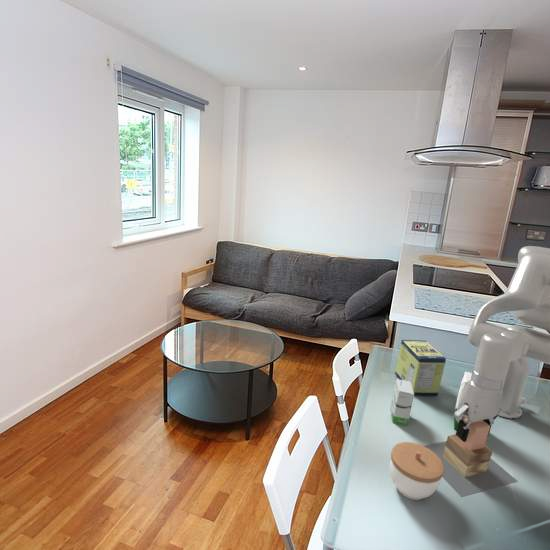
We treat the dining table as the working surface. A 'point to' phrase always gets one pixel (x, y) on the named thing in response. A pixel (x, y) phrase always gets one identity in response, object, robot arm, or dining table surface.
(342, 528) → the dining table surface
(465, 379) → the milk carton
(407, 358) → the protein box
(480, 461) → the walnut slab
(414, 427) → the dining table surface
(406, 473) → the lidded bowl
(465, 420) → the terracotta block
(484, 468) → the oak slab
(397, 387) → the ink box
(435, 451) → the rubber mat
